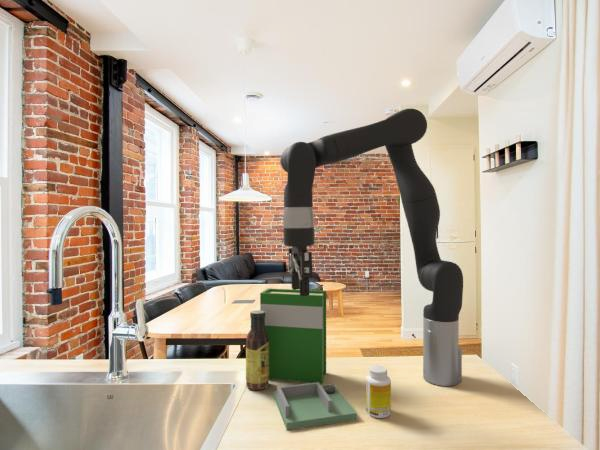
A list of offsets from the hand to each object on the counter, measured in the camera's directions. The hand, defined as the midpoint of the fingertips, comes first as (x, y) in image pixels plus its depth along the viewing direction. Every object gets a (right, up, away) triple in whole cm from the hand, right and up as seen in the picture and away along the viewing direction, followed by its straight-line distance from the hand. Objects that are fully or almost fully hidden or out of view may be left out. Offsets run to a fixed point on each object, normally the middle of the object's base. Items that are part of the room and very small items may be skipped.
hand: (300, 292), depth 91 cm
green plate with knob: (+3, -27, -3) cm, 27 cm away
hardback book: (-2, -27, +15) cm, 31 cm away
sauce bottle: (-11, -27, +9) cm, 31 cm away
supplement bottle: (+18, -27, -5) cm, 33 cm away
